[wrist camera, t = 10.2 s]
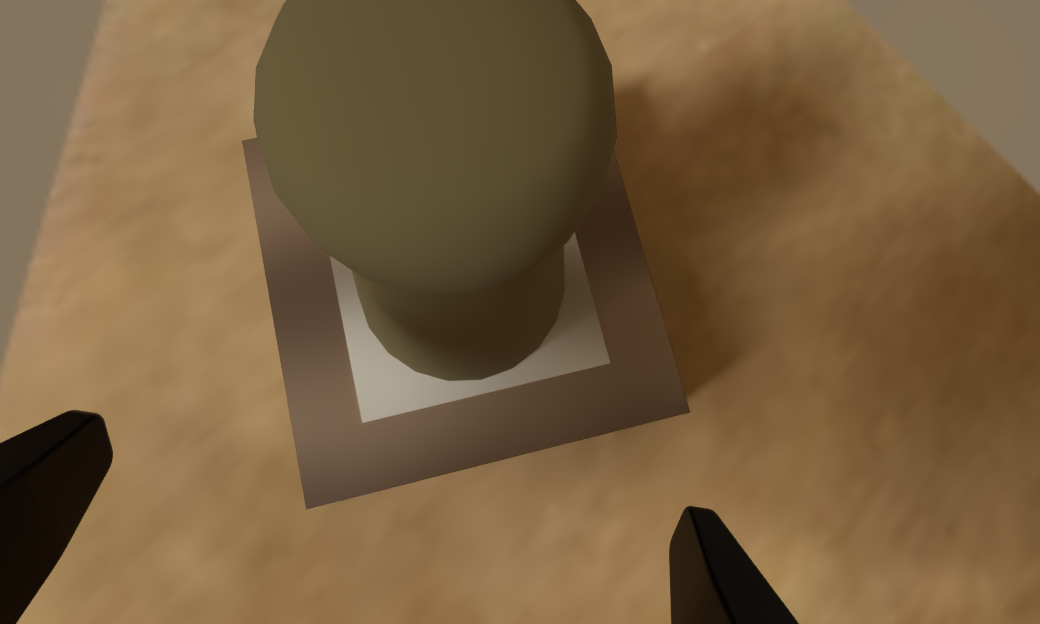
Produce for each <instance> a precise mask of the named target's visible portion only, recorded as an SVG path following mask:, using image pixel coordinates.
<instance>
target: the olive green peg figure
mask: <svg viewBox="0 0 1040 624" xmlns="http://www.w3.org/2000/svg"><path fill="white" fill-rule="evenodd" d="M254 124H255V129H256V134H257V139H258V142H259V146H260V149H261V152H262V155H263V158H264V161H265V165H266V168H267V171H268V174H269V177H270V180H271V183H272V187H273V190H274V192H275V194H276V195H277V196H278V197H279V199H280V200H281V201H282V203H283V204H284V205H285V207H286V208H287V209H288V211H289V212H290V213H291V215H292V216H293V217H294V218H295V220H296V221H297V222H298V224H299V225H300V226H301V228H302V229H303V230H304V232H305V233H306V234H307V236H308V237H309V238H310V239H311V240H312V241H313V242H314V243H315V244H316V245H317V246H318V248H319V249H321V250H322V251H324V252H325V253H327V254H328V255H330V256H331V257H333V258H334V259H336V260H337V261H339V262H340V263H342V264H343V265H345V266H346V267H348V268H349V269H351V270H352V273H353V277H354V281H355V285H356V289H357V292H358V296H359V299H360V302H361V305H362V308H363V311H364V315H365V318H366V321H367V324H368V327H369V328H370V330H371V331H372V332H373V334H374V335H375V336H376V338H377V339H378V340H379V341H380V343H381V344H382V345H383V347H384V348H385V349H386V351H387V352H388V353H389V354H390V355H392V356H393V357H395V358H396V359H398V360H399V361H401V362H402V363H404V364H405V365H406V366H408V367H409V368H411V369H412V370H414V371H415V372H418V373H422V374H425V375H429V376H432V377H436V378H439V379H443V380H446V381H462V380H482V379H485V378H488V377H491V376H493V375H496V374H499V373H502V372H504V371H507V370H510V369H512V368H514V367H515V366H516V365H518V364H519V363H520V362H522V361H523V360H524V359H525V358H527V357H528V356H529V355H530V354H532V353H533V352H534V351H536V350H537V349H538V348H539V347H540V345H541V344H542V342H543V341H544V339H545V338H546V336H547V335H548V333H549V332H550V330H551V329H552V327H553V326H554V324H555V323H556V321H557V317H558V313H559V310H560V306H561V302H562V299H563V295H564V291H565V290H564V245H565V244H566V243H567V242H568V241H569V239H570V238H571V236H572V235H573V234H574V232H575V231H576V229H577V228H578V226H579V225H580V223H581V222H582V220H583V219H584V217H585V216H586V214H587V213H588V212H589V210H590V209H591V207H592V206H593V204H594V203H595V201H596V199H597V198H598V196H599V194H600V192H601V190H602V188H603V186H604V182H605V178H606V174H607V171H608V167H609V163H610V160H611V156H612V152H613V148H614V145H615V141H616V137H617V131H616V116H615V103H614V90H613V77H612V65H611V63H610V61H609V59H608V56H607V54H606V52H605V49H604V47H603V45H602V42H601V40H600V38H599V36H598V33H597V31H596V29H595V26H594V24H593V22H592V19H591V18H590V17H589V16H588V14H587V13H586V12H585V11H584V10H583V8H582V7H581V6H580V5H579V4H578V2H577V1H576V0H287V1H286V2H285V3H284V4H283V6H282V8H281V10H280V12H279V14H278V16H277V18H276V20H275V23H274V25H273V28H272V30H271V32H270V35H269V37H268V40H267V42H266V45H265V47H264V49H263V52H262V54H261V57H260V59H259V61H258V64H257V66H256V78H255V100H254Z"/></svg>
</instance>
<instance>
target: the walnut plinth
mask: <svg viewBox="0 0 1040 624" xmlns="http://www.w3.org/2000/svg"><path fill="white" fill-rule="evenodd" d="M242 142H243V148H244V154H245V159H246V165H247V171H248V177H249V182H250V188H251V194H252V200H253V205H254V211H255V217H256V223H257V229H258V234H259V240H260V246H261V252H262V257H263V263H264V269H265V275H266V280H267V286H268V292H269V298H270V303H271V309H272V315H273V321H274V326H275V332H276V338H277V344H278V349H279V355H280V361H281V367H282V372H283V378H284V384H285V390H286V395H287V401H288V407H289V413H290V418H291V424H292V430H293V436H294V442H295V447H296V453H297V459H298V465H299V470H300V476H301V482H302V488H303V493H304V499H305V505H306V509H310V508H314V507H317V506H321V505H325V504H329V503H333V502H337V501H341V500H345V499H349V498H353V497H357V496H361V495H365V494H369V493H373V492H377V491H381V490H385V489H389V488H393V487H397V486H400V485H404V484H408V483H412V482H416V481H420V480H424V479H428V478H432V477H436V476H440V475H444V474H448V473H452V472H456V471H460V470H464V469H468V468H472V467H476V466H480V465H483V464H487V463H491V462H495V461H499V460H503V459H507V458H511V457H515V456H519V455H523V454H527V453H531V452H535V451H539V450H543V449H547V448H551V447H555V446H559V445H563V444H566V443H570V442H574V441H578V440H582V439H586V438H590V437H594V436H598V435H602V434H606V433H610V432H614V431H618V430H622V429H626V428H630V427H634V426H638V425H642V424H646V423H649V422H653V421H657V420H661V419H665V418H669V417H673V416H677V415H681V414H685V413H689V412H690V410H689V407H688V403H687V400H686V396H685V393H684V389H683V386H682V383H681V379H680V376H679V372H678V369H677V366H676V362H675V359H674V355H673V352H672V348H671V345H670V342H669V338H668V335H667V331H666V328H665V324H664V321H663V318H662V314H661V311H660V307H659V304H658V300H657V297H656V294H655V290H654V287H653V283H652V280H651V277H650V273H649V270H648V266H647V263H646V259H645V256H644V253H643V249H642V246H641V242H640V239H639V235H638V232H637V229H636V225H635V222H634V218H633V215H632V212H631V208H630V205H629V201H628V198H627V194H626V191H625V188H624V184H623V181H622V177H621V174H620V170H619V167H618V164H617V160H616V157H615V153H614V150H613V152H612V156H611V160H610V163H609V167H608V171H607V174H606V178H605V182H604V186H603V188H602V190H601V192H600V194H599V196H598V198H597V199H596V201H595V203H594V204H593V206H592V207H591V209H590V210H589V212H588V213H587V214H586V216H585V217H584V219H583V220H582V222H581V223H580V225H579V226H578V228H577V229H576V231H575V232H574V234H573V235H572V236H571V238H570V239H569V241H568V242H567V243H566V244H565V245H564V290H565V291H564V295H563V299H562V302H561V306H560V310H559V313H558V317H557V321H556V323H555V324H554V326H553V327H552V329H551V330H550V332H549V333H548V335H547V336H546V338H545V339H544V341H543V342H542V344H541V345H540V347H539V348H538V349H537V350H536V351H534V352H533V353H532V354H530V355H529V356H528V357H527V358H525V359H524V360H523V361H522V362H520V363H519V364H518V365H516V366H515V367H514V368H512V369H510V370H507V371H504V372H502V373H499V374H496V375H493V376H491V377H488V378H485V379H482V380H462V381H446V380H443V379H439V378H436V377H432V376H429V375H425V374H422V373H418V372H415V371H414V370H412V369H411V368H409V367H408V366H406V365H405V364H404V363H402V362H401V361H399V360H398V359H396V358H395V357H393V356H392V355H390V354H389V353H388V352H387V351H386V349H385V348H384V347H383V345H382V344H381V343H380V341H379V340H378V339H377V338H376V336H375V335H374V334H373V332H372V331H371V330H370V328H369V327H368V324H367V321H366V318H365V315H364V311H363V308H362V305H361V302H360V299H359V296H358V292H357V289H356V285H355V281H354V277H353V273H352V270H351V269H349V268H348V267H346V266H345V265H343V264H342V263H340V262H339V261H337V260H336V259H334V258H333V257H331V256H330V255H328V254H327V253H325V252H324V251H322V250H321V249H319V248H318V246H317V245H316V244H315V243H314V242H313V241H312V240H311V239H310V238H309V237H308V236H307V234H306V233H305V232H304V230H303V229H302V228H301V226H300V225H299V224H298V222H297V221H296V220H295V218H294V217H293V216H292V215H291V213H290V212H289V211H288V209H287V208H286V207H285V205H284V204H283V203H282V201H281V200H280V199H279V197H278V196H277V195H276V194H275V192H274V190H273V187H272V183H271V180H270V177H269V174H268V171H267V168H266V165H265V161H264V158H263V155H262V152H261V149H260V146H259V142H258V139H257V138H254V139H248V140H243V141H242Z"/></svg>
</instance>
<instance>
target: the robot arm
mask: <svg viewBox="0 0 1040 624" xmlns="http://www.w3.org/2000/svg"><path fill="white" fill-rule="evenodd" d="M112 459H113V450H112V446H111V443H110V439H109V436H108V432H107V428H106V425H105V421H104V419H103V418H102V416H101V415H100V414H97V413H92V412H85V411H79V410H71V411H67V412H65V413H63V414H60V415H58V416H56V417H54V418H52V419H50V420H48V421H46V422H44V423H42V424H39V425H37V426H35V427H33V428H31V429H29V430H27V431H25V432H23V433H21V434H18V435H16V436H14V437H12V438H10V439H8V440H6V441H4V442H2V443H0V624H16V623H17V621H18V620H19V618H20V617H21V615H22V614H23V613H24V611H25V610H26V608H27V607H28V605H29V604H30V602H31V601H32V599H33V598H34V596H35V595H36V594H37V592H38V591H39V589H40V588H41V586H42V585H43V583H44V582H45V580H46V579H47V577H48V576H49V574H50V573H51V571H52V570H53V568H54V567H55V565H56V564H57V562H58V561H59V559H60V557H61V556H62V554H63V552H64V551H65V549H66V547H67V545H68V544H69V542H70V540H71V538H72V536H73V534H74V533H75V531H76V529H77V527H78V525H79V523H80V522H81V520H82V518H83V516H84V514H85V512H86V511H87V509H88V507H89V505H90V503H91V501H92V500H93V498H94V496H95V494H96V492H97V490H98V489H99V487H100V485H101V483H102V481H103V479H104V477H105V476H106V474H107V472H108V470H109V468H110V466H111V463H112ZM669 564H670V596H671V624H799V623H798V622H797V620H796V619H795V618H794V616H793V615H792V614H791V612H790V611H789V610H788V608H787V607H786V606H785V604H784V603H783V602H782V600H781V599H780V598H779V596H778V595H777V594H776V592H775V591H774V590H773V588H772V587H771V586H770V584H769V583H768V582H767V580H766V579H765V578H764V576H763V575H762V574H761V572H760V571H759V570H758V568H757V567H756V566H755V564H754V563H753V562H752V560H751V559H750V558H749V556H748V555H747V554H746V552H745V551H744V550H743V548H742V547H741V546H740V544H739V543H738V542H737V540H736V539H735V538H734V536H733V535H732V534H731V532H730V531H729V530H728V528H727V527H726V526H725V524H724V523H723V522H722V520H721V519H720V518H719V516H718V515H717V514H716V513H715V512H714V511H713V510H711V509H707V508H700V507H694V506H688V507H686V508H685V509H684V511H683V513H682V515H681V518H680V520H679V522H678V525H677V527H676V529H675V531H674V534H673V536H672V539H671V542H670V548H669Z"/></svg>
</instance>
